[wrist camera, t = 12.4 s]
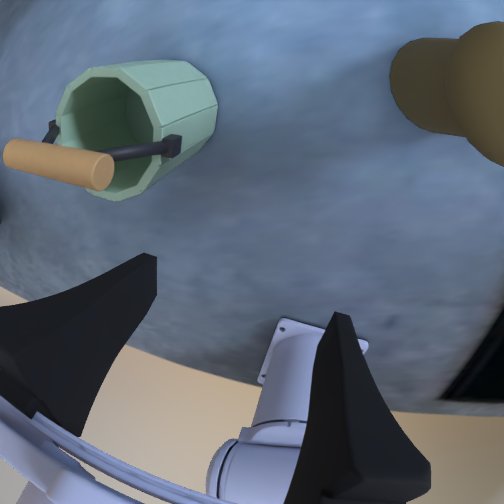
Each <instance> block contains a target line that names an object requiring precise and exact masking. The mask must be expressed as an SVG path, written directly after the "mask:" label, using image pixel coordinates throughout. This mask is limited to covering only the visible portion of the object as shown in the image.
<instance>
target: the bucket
mask: <svg viewBox="0 0 504 504" xmlns="http://www.w3.org/2000/svg"><path fill="white" fill-rule="evenodd" d="M217 104H218V102H217V100H216V97H215V94H214V92H213V89H212V87H211V84H210V82H209V79H207V77H206V76H205V75H204V74H202V73H201V72H200V71H199V70H197V69H196V68H195V67H193V66H192V65H191V64H189V63H188V62H186V61H178V60H164V59H160V60H147V61H136V62H127V63H119V64H111V65H104V66H97V67H92V68H89V69H88V70H86V71H85V72H84V73H82V74H81V75H80V76H78V77H77V78H76V79H75V80H73V81H72V82H71V83H70V84H68V86H67V87H66V89H65V92H64V94H63V97H62V99H61V101H60V104H59V107H58V109H57V112H56V120H53V121H50V122H49V131H48V133H47V134H46V136H45V137H44V139H43V141H42V142H37V141H30V140H24V139H12V140H11V141H9V142H8V143H7V145H6V146H5V149H4V152H3V161H4V163H5V165H6V166H7V167H9V168H12V169H16V170H20V171H24V172H28V173H32V174H35V175H39V176H43V177H47V178H51V179H54V180H58V181H62V182H66V183H69V184H73V185H77V186H80V187H83V188H84V189H85V190H86V191H88V192H89V193H90V194H91V193H92V195H94V196H97V197H101V198H104V199H108V200H111V201H115V202H117V201H118V202H119V201H122V200H125V199H128V198H130V197H133V196H136V195H139V194H142V193H143V192H144V191H146V190H147V189H148V188H149V187H151V186H152V185H153V184H155V183H156V182H157V181H159V180H160V179H161V178H163V177H164V176H165V175H167V174H168V173H169V172H171V171H172V170H173V169H175V168H176V167H178V166H179V165H180V164H182V163H183V162H184V161H186V160H187V159H189V158H190V157H192V156H193V155H194V154H196V153H197V152H199V151H200V149H201V148H202V147H203V145H204V144H205V143H206V142H207V140H208V139H209V138H210V137H211V136H212V134H213V132H214V130H215V124H216V117H217V110H218V105H217ZM55 139H57V145H55V144H53V143H54V141H55Z"/></svg>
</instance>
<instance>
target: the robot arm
mask: <svg viewBox="0 0 504 504" xmlns="http://www.w3.org/2000/svg"><path fill="white" fill-rule="evenodd" d="M156 295H157V257H155V256H152V255H149V254H146V253H142V254H140V255H138V256H136V257H134V258H132V259H130V260H128V261H126V262H125V263H123V264H121V265H119V266H117V267H115V268H113V269H111V270H110V271H108V272H106V273H104V274H102V275H100V276H98V277H96V278H94V279H92V280H89V281H87V282H85V283H83V284H81V285H79V286H76V287H74V288H72V289H69V290H66V291H64V292H61V293H58V294H55V295H52V296H49V297H45V298H42V299H39V300H35V301H31V302H27V303H22V304H16V305H10V306H2V307H0V457H1V458H2V459H3V460H5V461H6V462H7V463H8V464H9V465H10V466H12V467H13V468H14V469H15V470H16V471H18V472H19V473H20V474H21V475H22V476H24V477H25V478H26V479H28V480H29V482H28V483H27V485H26V487H25V489H24V490H23V492H22V494H21V496H20V498H19V499H18V501H17V503H16V504H144V503H142V502H139V501H137V500H135V499H133V498H131V497H128V496H126V495H124V494H122V493H120V492H118V491H116V490H114V489H111V488H110V487H108V486H106V485H104V484H102V483H100V482H98V481H96V480H95V477H94V476H93V475H91V474H90V473H89V472H87V471H86V470H85V469H84V468H83V467H82V466H81V465H80V463H79V462H78V461H76V460H75V459H73V458H72V457H70V456H69V455H68V454H66V453H65V452H63V451H62V450H61V449H63V450H65V451H66V452H68V453H69V454H71V455H73V456H74V457H76V458H77V459H79V460H81V461H83V462H84V463H86V464H88V465H90V466H91V467H93V468H95V469H97V470H99V471H101V472H103V473H104V474H106V475H108V476H110V477H112V478H114V479H116V480H118V481H120V482H122V483H124V484H126V485H129V486H131V487H133V488H135V489H137V490H140V491H142V492H144V493H146V494H149V495H151V496H154V497H156V498H159V499H161V500H164V501H166V502H169V503H171V504H406V502H408V501H411V500H413V499H415V498H417V497H420V496H422V495H423V494H425V493H427V492H428V491H429V489H430V488H431V466H430V463H429V461H428V460H427V459H426V458H425V457H424V456H423V455H422V454H421V453H420V451H419V450H418V449H417V448H416V447H415V446H414V445H413V443H412V442H411V441H410V439H409V438H408V437H407V435H406V434H405V433H404V431H403V430H402V429H401V427H400V426H399V424H398V423H397V421H396V420H395V418H394V417H393V415H392V414H391V412H390V410H389V409H388V407H387V405H386V404H385V402H384V400H383V398H382V396H381V394H380V392H379V390H378V388H377V386H376V384H375V382H374V380H373V377H372V375H371V373H370V370H369V368H368V366H367V363H366V360H365V358H364V353H365V352H366V350H367V349H368V342H367V341H365V340H361V339H357V336H356V333H355V330H354V327H353V323H352V320H351V318H350V316H349V315H346V314H342V313H338V312H334V314H333V316H332V318H331V320H330V322H329V324H328V326H327V328H326V330H324V329H321V328H317V327H314V326H310V325H307V324H303V323H300V322H296V321H293V320H289V319H286V318H281V319H280V320H279V322H278V324H277V327H276V330H275V333H274V335H273V338H272V341H271V344H270V346H269V349H268V352H267V355H266V357H265V360H264V363H263V365H262V368H261V371H260V373H259V376H258V379H257V381H258V382H259V383H261V384H263V388H262V391H261V395H260V398H259V402H258V405H257V409H256V412H255V415H254V418H253V422H252V425H251V427H249V428H247V427H243V428H242V429H241V432H240V435H239V438H238V439H229V440H228V441H226V442H225V443H224V444H223V445H222V446H221V447H220V448H219V449H218V450H217V451H216V453H215V454H214V456H213V458H212V460H211V462H210V465H209V468H208V472H207V477H206V494H202V493H199V492H196V491H193V490H191V489H188V488H185V487H182V486H179V485H177V484H174V483H171V482H169V481H166V480H164V479H161V478H159V477H156V476H154V475H151V474H149V473H147V472H145V471H142V470H140V469H138V468H136V467H133V466H131V465H129V464H127V463H125V462H123V461H121V460H119V459H117V458H115V457H113V456H111V455H109V454H107V453H105V452H103V451H101V450H99V449H97V448H96V447H94V446H92V445H90V444H88V443H86V442H85V441H83V440H81V439H80V438H78V437H80V436H81V434H82V431H83V428H84V426H85V423H86V420H87V417H88V415H89V412H90V410H91V407H92V405H93V402H94V400H95V398H96V396H97V393H98V391H99V389H100V387H101V385H102V383H103V381H104V379H105V377H106V375H107V373H108V371H109V369H110V367H111V365H112V363H113V362H114V360H115V358H116V357H117V355H118V353H119V352H120V350H121V349H122V348H123V346H124V345H125V343H126V342H127V341H128V339H129V338H130V336H131V335H132V334H133V332H134V331H135V330H136V328H137V327H138V325H139V324H140V323H141V321H142V320H143V318H144V317H145V315H146V314H147V312H148V310H149V309H150V307H151V305H152V303H153V301H154V299H155V297H156ZM281 327H283V328H284V329H283V328H281ZM361 349H362V350H361ZM59 447H60V448H61V449H59Z"/></svg>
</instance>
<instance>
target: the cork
mask: <svg viewBox="0 0 504 504" xmlns="http://www.w3.org/2000/svg"><path fill="white" fill-rule="evenodd" d="M390 85H391V92H392V94H393V97H394V99H395V101H396V104H397V106H398V107H399V109H400V110H401V111H402V112H403V114H404V115H405V116H406V118H407V119H409V120H410V121H411V122H413V123H414V124H416V125H417V126H418V127H420V128H422V129H425V130H428V131H431V132H434V133H441V134H448V135H454V136H461V137H466V138H467V140H468V142H469V143H470V144H472V145H473V146H474V147H475V148H476V149H477V150H478V151H479V152H480V153H481V154H482V155H483V156H485V157H486V158H487V159H489V160H490V161H492V162H495V163H497V164H499V165H501V166H503V167H504V22H500V21H497V22H490V23H484V24H480V25H477V26H474V27H473V28H471V29H470V30H469V31H467V32H466V33H465V34H463V35H462V36H460V38H459V39H449V38H421V39H417V40H414V41H410V42H409V43H407V44H406V45H405V46H404V47H402V48H401V49H400V50H399V51H398V53H397V55H396V56H395V58H394V60H393V61H392V66H391V71H390Z"/></svg>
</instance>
